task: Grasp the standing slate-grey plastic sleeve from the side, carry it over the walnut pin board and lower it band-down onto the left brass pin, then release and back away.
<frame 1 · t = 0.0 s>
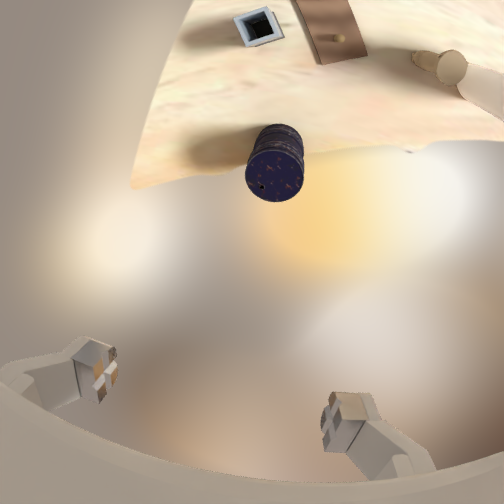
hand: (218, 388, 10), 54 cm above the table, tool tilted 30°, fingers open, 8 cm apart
black cylinder: (279, 145, 58), on the table
alcohol: (470, 82, 39), on the table
sleeve: (265, 29, 42), on the table
pin board: (328, 17, 38), on the table
handle: (417, 58, 40), on the table
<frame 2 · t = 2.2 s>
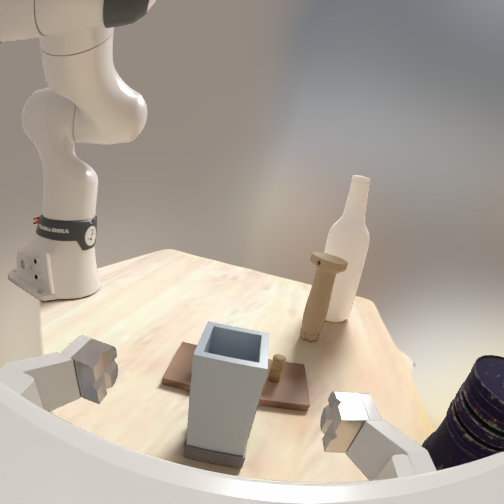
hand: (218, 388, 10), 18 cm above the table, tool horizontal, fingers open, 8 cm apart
black cylinder: (433, 487, 18), on the table
alcohol: (328, 314, 62), on the table
sleeve: (216, 444, 25), on the table
pin board: (238, 378, 36), on the table
handle: (308, 338, 51), on the table
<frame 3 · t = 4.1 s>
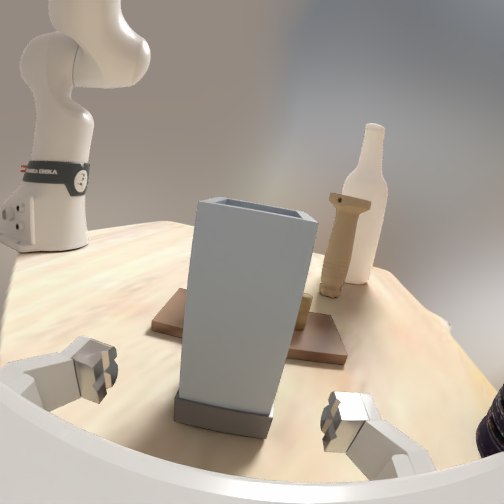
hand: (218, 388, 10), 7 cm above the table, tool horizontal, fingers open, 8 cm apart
alcohol: (346, 278, 55), on the table
sleeve: (225, 404, 18), on the table
pin board: (251, 328, 29), on the table
handle: (328, 295, 44), on the table
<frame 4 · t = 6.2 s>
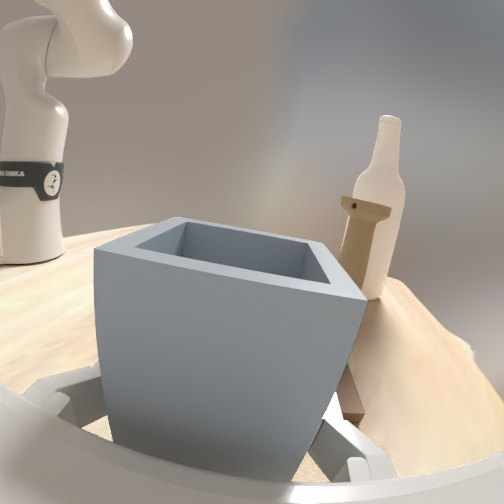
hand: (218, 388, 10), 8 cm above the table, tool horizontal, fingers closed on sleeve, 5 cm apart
alcohol: (355, 292, 48), on the table
sleeve: (201, 496, 11), on the table, touching gripper
pin board: (242, 373, 22), on the table
handle: (337, 317, 37), on the table
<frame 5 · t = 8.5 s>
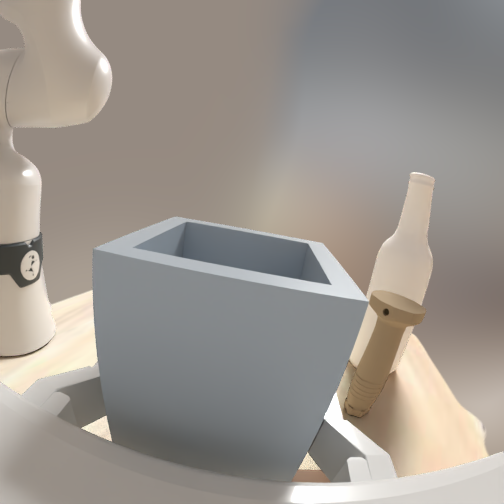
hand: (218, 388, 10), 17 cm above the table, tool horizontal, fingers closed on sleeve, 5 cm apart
alcohol: (371, 363, 42), on the table
sleeve: (201, 497, 11), point 9 cm above the table, touching gripper
handle: (354, 411, 31), on the table
when the fingers open (10 cm above the table, at t = 11.1 s): sleeve drops 1 cm, resting on pin board.
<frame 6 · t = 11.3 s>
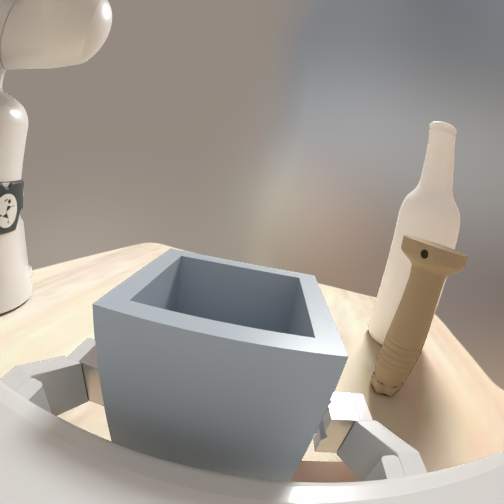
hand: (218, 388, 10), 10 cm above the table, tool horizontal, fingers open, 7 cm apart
alcohol: (393, 339, 37), on the table
handle: (382, 389, 25), on the table
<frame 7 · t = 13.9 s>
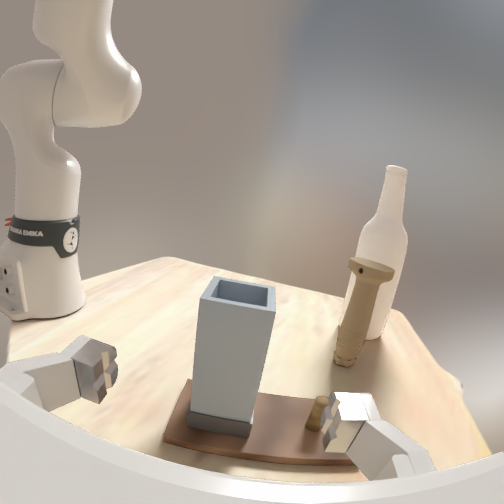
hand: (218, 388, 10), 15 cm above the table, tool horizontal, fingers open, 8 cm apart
alcohol: (359, 331, 51), on the table
sleeve: (221, 414, 25), point 1 cm above the table, touching pin board
pin board: (266, 428, 25), on the table
handle: (342, 363, 39), on the table
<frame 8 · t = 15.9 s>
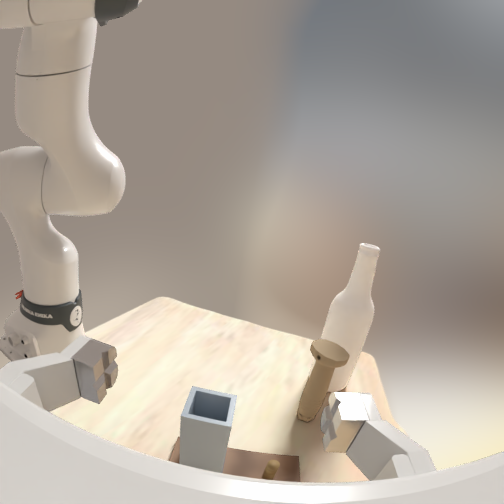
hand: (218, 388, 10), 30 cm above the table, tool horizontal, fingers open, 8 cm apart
alcohol: (327, 381, 57), on the table
sleeve: (202, 466, 31), point 1 cm above the table, touching pin board
pin board: (234, 475, 31), on the table
handle: (304, 417, 46), on the table
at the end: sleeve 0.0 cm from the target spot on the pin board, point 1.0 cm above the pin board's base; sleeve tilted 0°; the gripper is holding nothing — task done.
